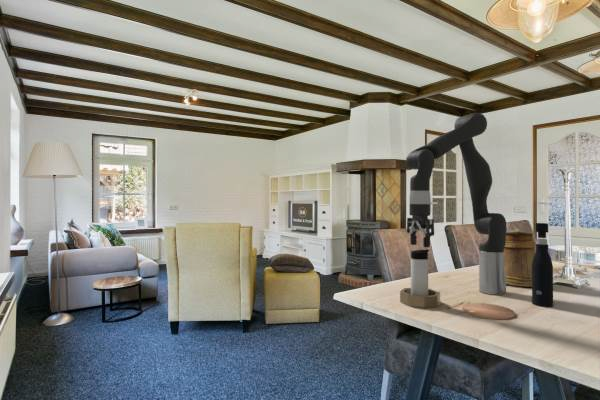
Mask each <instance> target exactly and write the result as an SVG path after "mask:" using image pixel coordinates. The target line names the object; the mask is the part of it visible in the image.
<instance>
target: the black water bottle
mask: <svg viewBox="0 0 600 400" xmlns="http://www.w3.org/2000/svg"><path fill="white" fill-rule="evenodd" d="M535 233H537V239H536V243H535V255H534V258H533V261H532V287H531V303H532V305H533V306H537V307H543V308H553V307H554V267H553V261H552V257H551V256H550V253H549V244H548V239H547V233H549V223H547V222H536V223H535Z"/></svg>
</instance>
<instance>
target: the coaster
mask: <svg viewBox="0 0 600 400" xmlns="http://www.w3.org/2000/svg"><path fill="white" fill-rule="evenodd" d="M461 308H462V310H461V311H463V312H464V313H466V314H468V315H469V316H470V315H471V316H474V317H478V318H482V319H488V320H489V319H490V320H499V321H500V320H510V319H513V318H515V317H516V312H515V311H514V310H513V309H511V308H509V307H505V306H501V305H499V304H492V303H486V302H485V303H484V302H483V303H482V302H470V303H469V302H468V303H465V304H462V306H461Z"/></svg>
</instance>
